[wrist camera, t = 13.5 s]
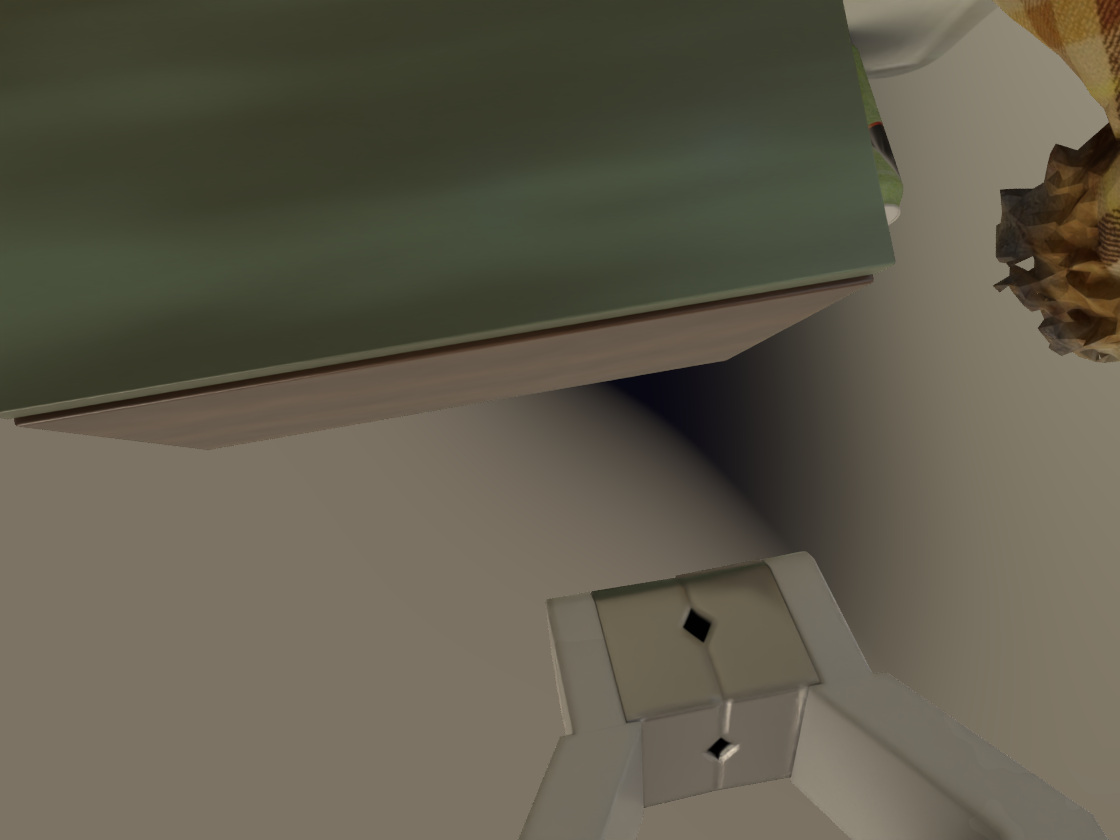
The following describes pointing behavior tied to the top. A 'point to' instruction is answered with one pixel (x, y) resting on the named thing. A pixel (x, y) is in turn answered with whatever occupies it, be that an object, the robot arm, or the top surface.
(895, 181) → the beverage can
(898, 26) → the top surface
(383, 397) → the cupboard
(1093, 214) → the plaid cloth bag
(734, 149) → the door
